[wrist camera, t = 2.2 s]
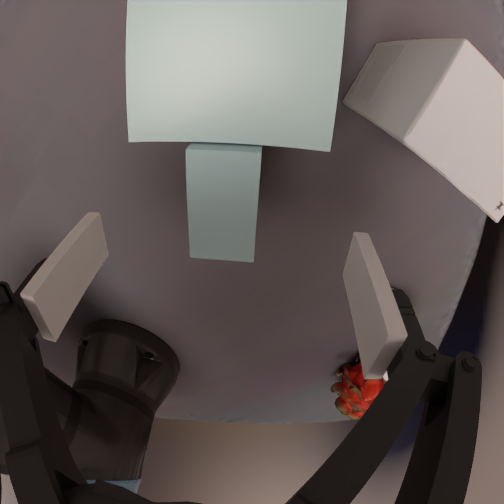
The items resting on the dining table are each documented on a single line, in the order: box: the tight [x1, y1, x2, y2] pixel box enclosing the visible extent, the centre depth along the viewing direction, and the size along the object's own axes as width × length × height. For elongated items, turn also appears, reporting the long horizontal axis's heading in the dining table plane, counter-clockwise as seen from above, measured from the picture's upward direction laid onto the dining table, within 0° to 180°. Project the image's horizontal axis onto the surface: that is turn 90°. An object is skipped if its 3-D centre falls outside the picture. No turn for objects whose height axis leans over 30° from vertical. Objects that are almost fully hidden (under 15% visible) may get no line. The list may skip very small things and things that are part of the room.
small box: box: [342, 38, 504, 223], centre depth 16 cm, size 8×6×13 cm
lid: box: [126, 0, 347, 262], centre depth 15 cm, size 24×12×5 cm, turn 177°
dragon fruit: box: [330, 356, 387, 419], centre depth 38 cm, size 8×8×12 cm
